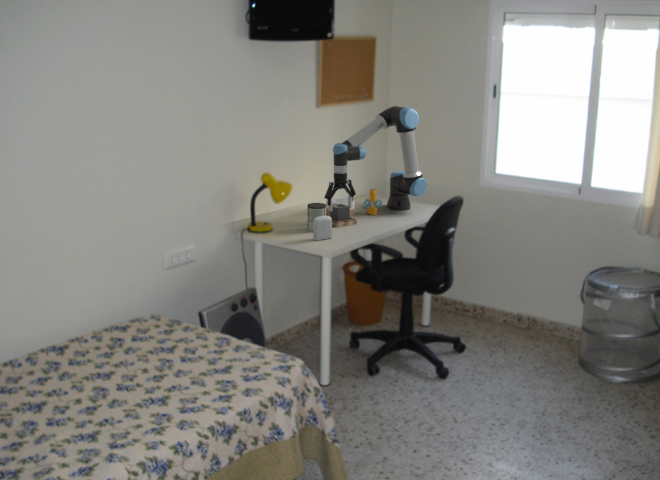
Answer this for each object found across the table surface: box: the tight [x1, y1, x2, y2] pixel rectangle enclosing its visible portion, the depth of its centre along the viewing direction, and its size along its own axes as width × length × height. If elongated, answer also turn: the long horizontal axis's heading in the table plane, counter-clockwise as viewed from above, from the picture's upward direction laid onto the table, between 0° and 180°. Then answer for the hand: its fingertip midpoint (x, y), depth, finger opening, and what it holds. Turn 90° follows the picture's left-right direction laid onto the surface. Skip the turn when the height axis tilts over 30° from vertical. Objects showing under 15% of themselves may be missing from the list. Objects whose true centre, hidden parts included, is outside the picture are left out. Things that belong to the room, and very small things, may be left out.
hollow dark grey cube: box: [330, 204, 351, 221], centre depth 384 cm, size 8×8×8 cm
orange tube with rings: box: [362, 188, 383, 216], centre depth 406 cm, size 12×10×15 cm
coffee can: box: [306, 202, 327, 233], centre depth 369 cm, size 10×10×14 cm
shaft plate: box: [332, 206, 358, 228], centre depth 384 cm, size 14×14×10 cm
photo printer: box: [312, 215, 333, 241], centre depth 352 cm, size 10×4×12 cm, turn 118°
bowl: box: [325, 196, 356, 217], centre depth 407 cm, size 17×17×8 cm
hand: (340, 209), depth 384 cm, fingers open, 13 cm apart
